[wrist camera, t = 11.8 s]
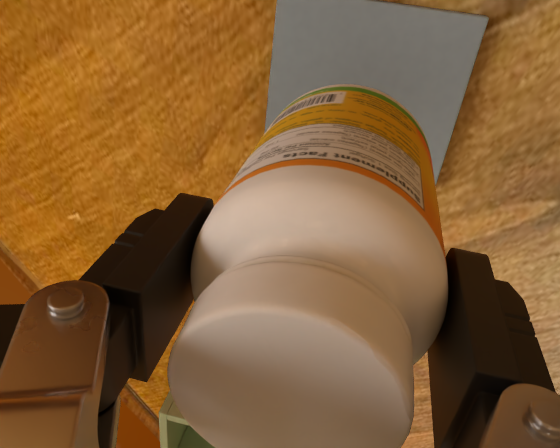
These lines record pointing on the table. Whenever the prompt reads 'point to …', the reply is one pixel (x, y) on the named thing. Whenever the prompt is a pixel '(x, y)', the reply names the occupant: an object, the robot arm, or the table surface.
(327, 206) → the supplement bottle
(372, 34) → the mat
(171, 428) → the caddy
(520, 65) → the table surface
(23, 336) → the robot arm
